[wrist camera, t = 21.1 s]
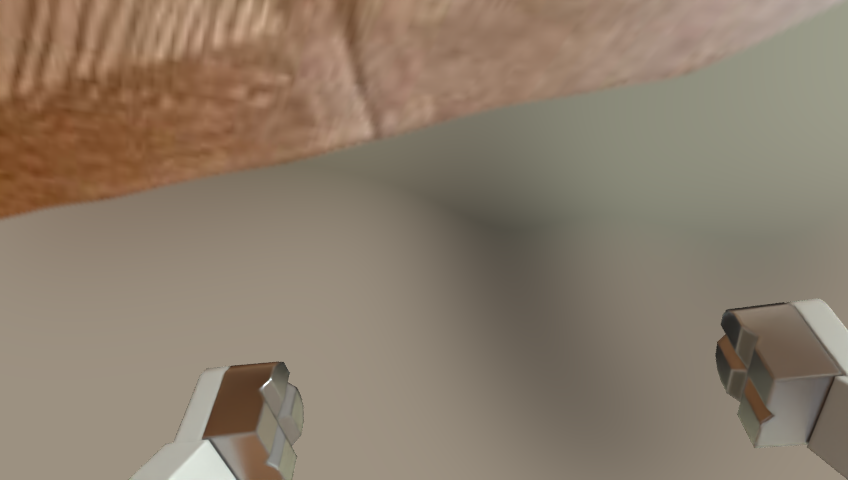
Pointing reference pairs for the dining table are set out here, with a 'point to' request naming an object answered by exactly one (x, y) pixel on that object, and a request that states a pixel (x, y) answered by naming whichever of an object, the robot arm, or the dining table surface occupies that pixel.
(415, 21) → the dining table surface
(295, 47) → the dining table surface
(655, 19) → the dining table surface
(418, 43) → the dining table surface
